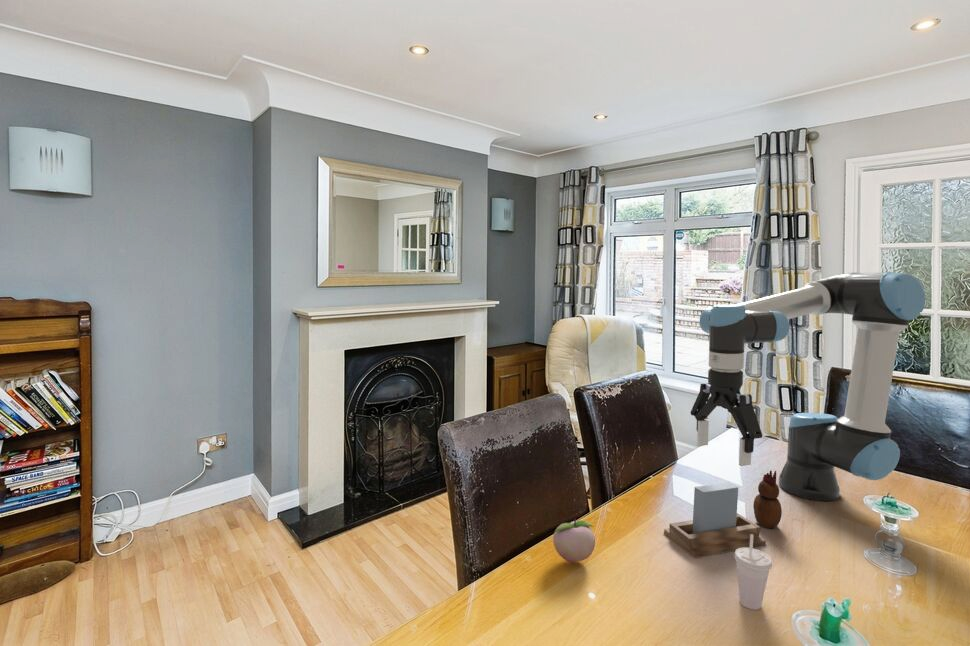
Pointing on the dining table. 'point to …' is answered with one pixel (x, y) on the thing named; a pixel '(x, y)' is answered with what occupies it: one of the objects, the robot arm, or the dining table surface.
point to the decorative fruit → (574, 540)
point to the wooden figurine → (768, 502)
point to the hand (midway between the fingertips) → (722, 454)
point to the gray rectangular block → (714, 507)
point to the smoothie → (752, 575)
